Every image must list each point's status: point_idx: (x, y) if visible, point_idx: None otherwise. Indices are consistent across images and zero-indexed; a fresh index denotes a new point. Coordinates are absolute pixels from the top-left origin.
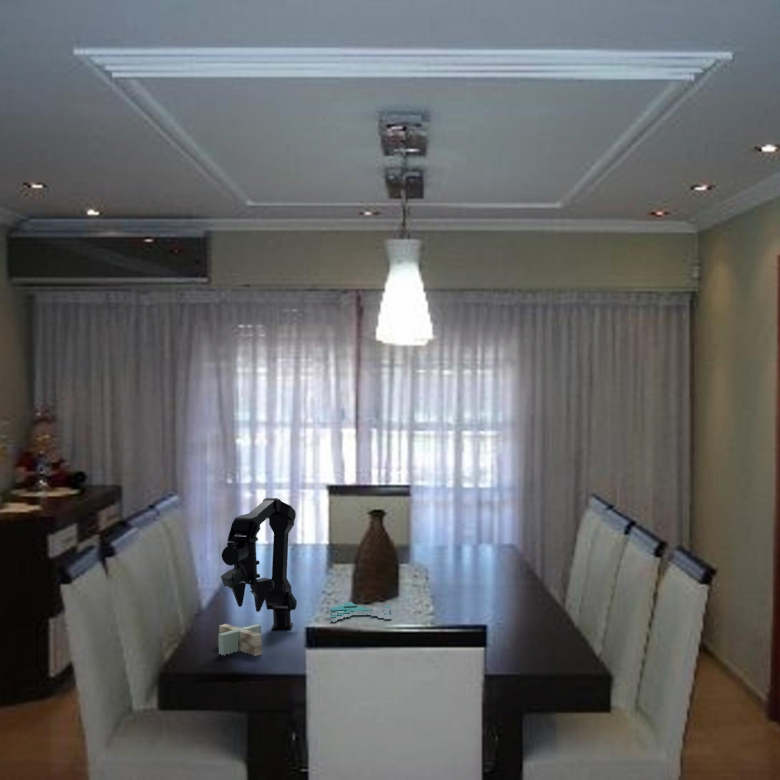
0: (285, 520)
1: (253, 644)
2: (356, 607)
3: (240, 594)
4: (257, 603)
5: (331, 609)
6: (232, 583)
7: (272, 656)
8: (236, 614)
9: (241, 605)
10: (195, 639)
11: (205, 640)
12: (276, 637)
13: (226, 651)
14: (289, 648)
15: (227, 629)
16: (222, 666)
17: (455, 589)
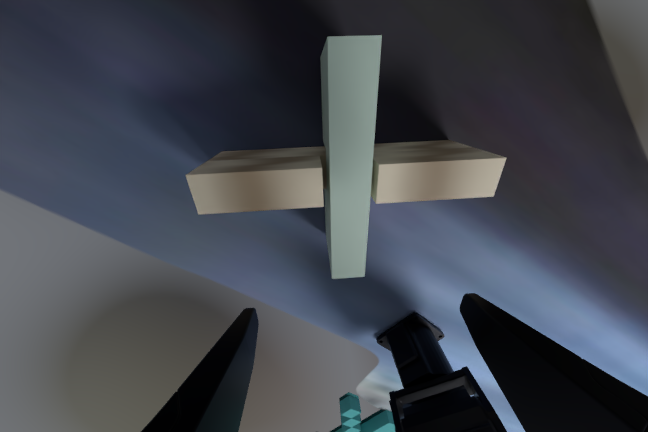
0: None
1: (216, 161)
2: None
3: (540, 404)
4: (192, 378)
5: (392, 424)
6: None
7: (181, 191)
8: (594, 320)
9: (463, 311)
10: (589, 113)
11: (541, 134)
12: (353, 292)
13: (321, 74)
14: (231, 267)
15: (430, 159)
16: None
17: None
